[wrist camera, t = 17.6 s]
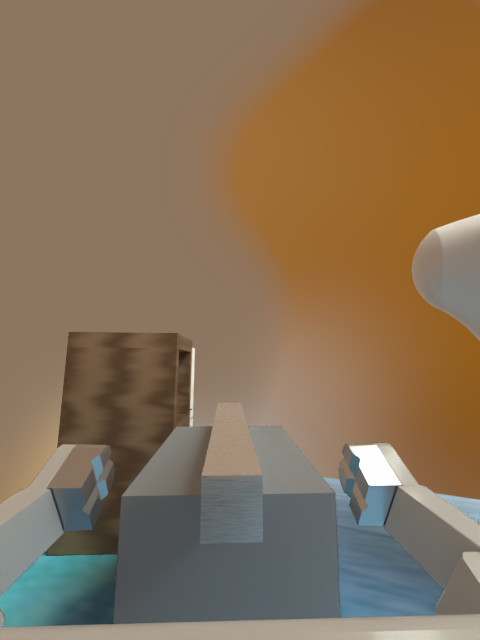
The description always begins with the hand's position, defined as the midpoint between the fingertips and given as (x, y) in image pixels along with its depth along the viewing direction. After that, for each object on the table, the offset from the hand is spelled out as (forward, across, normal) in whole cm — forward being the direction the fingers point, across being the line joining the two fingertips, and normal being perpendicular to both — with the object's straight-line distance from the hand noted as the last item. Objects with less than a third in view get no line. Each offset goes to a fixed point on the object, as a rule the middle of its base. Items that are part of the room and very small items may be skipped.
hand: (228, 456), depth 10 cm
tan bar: (+9, 0, +10) cm, 13 cm away
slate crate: (+3, 0, +24) cm, 24 cm away
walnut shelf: (+20, +14, +33) cm, 41 cm away
